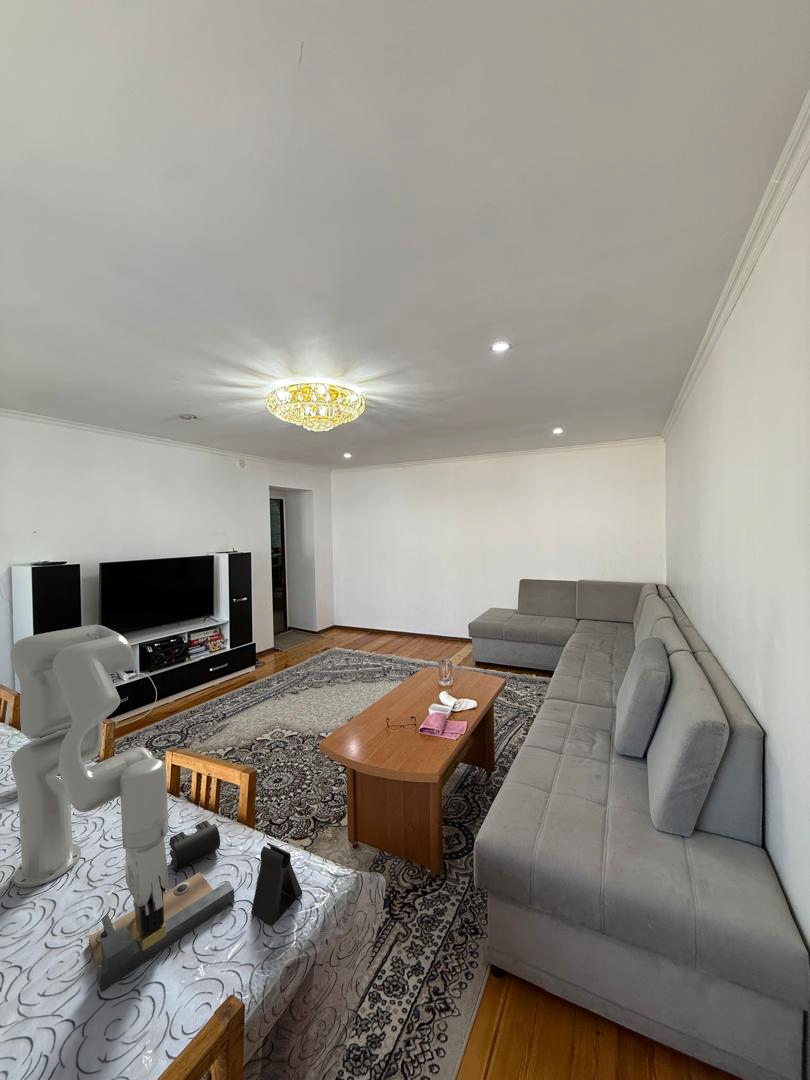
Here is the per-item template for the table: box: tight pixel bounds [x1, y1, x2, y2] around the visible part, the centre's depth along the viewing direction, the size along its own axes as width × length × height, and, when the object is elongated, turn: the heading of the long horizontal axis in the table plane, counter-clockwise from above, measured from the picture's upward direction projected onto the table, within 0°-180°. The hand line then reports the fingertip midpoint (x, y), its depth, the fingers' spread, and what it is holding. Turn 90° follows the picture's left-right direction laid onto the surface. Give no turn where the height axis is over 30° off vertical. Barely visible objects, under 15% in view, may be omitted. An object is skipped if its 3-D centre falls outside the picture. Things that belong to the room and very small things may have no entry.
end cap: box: [168, 819, 221, 873], centre depth 104 cm, size 10×7×7 cm
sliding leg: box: [132, 890, 166, 951], centre depth 83 cm, size 12×4×9 cm, turn 47°
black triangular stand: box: [250, 842, 303, 928], centre depth 91 cm, size 9×6×12 cm, turn 149°
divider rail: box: [95, 881, 235, 993], centre depth 86 cm, size 12×24×6 cm, turn 137°
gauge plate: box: [88, 871, 214, 965], centre depth 88 cm, size 8×21×2 cm, turn 137°
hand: (150, 922), depth 81 cm, fingers closed on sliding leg, 3 cm apart
